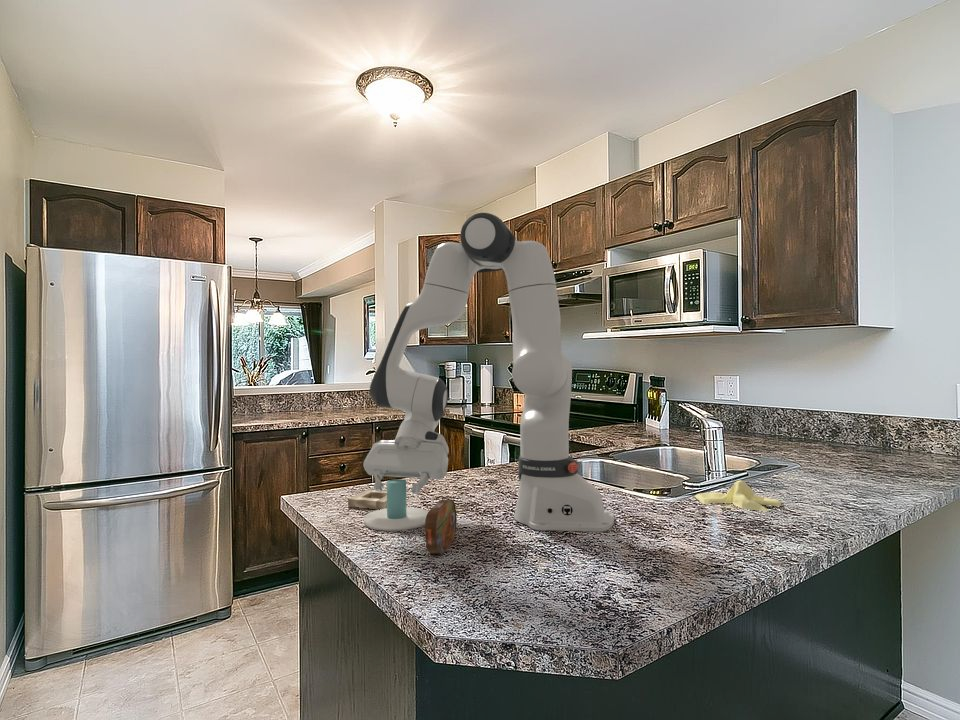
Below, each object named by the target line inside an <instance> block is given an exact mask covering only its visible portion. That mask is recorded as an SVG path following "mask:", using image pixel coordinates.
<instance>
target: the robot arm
mask: <svg viewBox="0 0 960 720" xmlns="http://www.w3.org/2000/svg"><path fill="white" fill-rule="evenodd" d="M461 226H462V227H461V230H460V235H459V236H460V237H459V238H460V242H454V241H448V242H443V243H441V244H439V245H438V246H437V247H436V248H435V250H434V251H433V254H432V257H431V259H430V261H429V265H428V267H427V270H426V274H425V277H424V282H423V286H422V288H421V289H422V290H421V292H420V293H419V295H418V297H417V298H416V299H415V300H414V301H413V302H409V303H407V304H406V305H405V307H404V308H403V310H402V311H401V313H400V315H399V317H398V319H397V321H396V324H395V327H394V329H393V331H392V334H391V335H390V339H389V341H388V343H387V346H386V348H385V351H384V353H383V356H382V359H381V360H380V363H379V365H378V367H377V370H376V371H375V373H374V375H373V377H372V379H371V381H370V385H369V396H370V398H371V399H372V401H373V402H374V403H375V404H376V405H377V406H378V407H379V408H386V409H395V410H400V411H404V412H405V413H404V419H403V420H402V422H401V423H400V425H399V428H398V430H397V434H396V436H395V437H394V438H395V439H393V440H392V439H391V440H389V439H388V440H385V439H381V440H379V441H376V442H375V443H373V444H372V446H371V448H370V450H369V452H368V453H367V455H366V457H365V459H364V460H363V468H364V471H365V472H366V473H367V475H369V476H373V477H374V481H375V482H374V484H373V490H375V491H383V488H384V486H385V485H384V484H383V482H382V481H381V480H383V479H384V477H393V478H395V477H396V478H397V477H398V478H409V479H410V478H411V479H412V478H413V479H414V478H415V479H419V480H418V481H417V482H415V483H412V485H411V486H412V487H411V489H410V490H411V491H410V492H412V494H414V495H420V493H421V490H422V488H423V487H425V485H427V484H428V482H429V481H430V480H442V479H443V478H445V477H446V474H447V471H448V468H449V467H448V465H449V457H448V455H449V452H450V450H449V449H450V448H449V446H448V443H447V441H446V439H445V437H444V435H443V434H441V433H439V432H437V431H435V430H436V428H437V426H439V423H440V420H441V418H442V417H444V414H445V411H446V407H447V404H448V400H449V389H448V388H447V385H446V384H445V382H444V381H443V379H442V378H439V377H437V376H433V375H429V374H426V373H419V372H416V371H415V372H414V371H411V370H406V369H402V368H401V367H400V363H401V361H402V358H403V355H405V351H406V350H407V346H408V344H409V342H410V340H411V337H412V336H413V335H414V334H415V333H416V332H418V331H421V330H424V329H428V328H436V327H442V326H446V325H450V324H452V323H454V322H456V321H457V320H459V319H460V318H461V317H462V316H463V314H464V312H465V309H466V306H467V302H468V300H469V299H468V298H469V295H470V290H471V285H472V281H473V279H474V277H475V274H476V273H477V272H478V273H489V272H498V271H499V272H500V271H502V270H503V272H504V275H505V278H506V283H507V292H508V297H509V305H510V306H509V307H510V313H511V321H512V364H513V365H512V370H511V375H512V380H513V383H514V385H515V387H516V388H517V389H518V390H519V391H520V393H522V394H524V400H523V408H522V414H521V418H520V421H519V422H520V423H519V425H520V426H519V428H520V429H519V431H520V432H519V433H520V437H519V439H520V440H519V441H520V443H519V444H520V448H519V449H520V455H519V456H518V462H517V469H518V471H517V475H518V481H519V488H518V496H517V502H516V508H515V511H514V515H513V518H514V520H515V521H516V522H519V523H521V524H523V525H526V526H528V527H529V528H530V529H532V530H537V531H565V532H566V531H567V532H597V533H598V532H599V533H601V532H605V531H607V530H610V529H611V528H612V527H613V526H614V523H615V518H614V517H615V516H614V514H613V512H611V511H609V510H607V509H605V506H604V500H603V497H602V494H601V492H600V491H599V489H597V488H596V487H595V486H594V485H592V484H591V483H590V482H588V481H587V480H586V479H585V478H584V477H582V475H580V474H579V473H578V472H579V463H578V459H574V458H573V457H571V456H570V453H569V452H570V450H569V449H570V446H569V445H570V443H569V442H570V439H569V438H570V437H569V430H570V429H569V427H570V423H569V422H570V420H569V419H570V411H571V398H572V397H571V396H572V383H573V382H572V378H573V367H572V363H571V362H570V359H569V358H568V357H567V355H566V354H565V353H563V352H562V340H561V339H562V338H561V323H562V318H561V310H560V305H559V304H560V303H559V296H558V291H557V289H558V288H557V283H556V278H555V272H554V268H553V264H552V261H551V258H550V255H549V252H548V249H547V247H545V245H544V244H543V243H541V242H538V241H536V240H522V241H518V240H517V239H516V237H515V235H514V233H512V230H511V229H510V227H509V226H507V224H506V223H505V222H504V221H503V220H502V219H501V218H500V217H498V216H497V215H495V214H493V213H489V212H477V213H475V214H473V215H471V216H470V217H468V218H467V219H466V220H465V222H464V223H463V225H461Z"/></svg>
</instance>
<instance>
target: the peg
mask: <svg viewBox="0 0 960 720" xmlns="http://www.w3.org/2000/svg"><path fill="white" fill-rule="evenodd" d="M386 491H387V518H390V519H401V518H405V517H406V516H407V513H406V507H407V480H406V479H403V478H394V479H388V480H386Z"/></svg>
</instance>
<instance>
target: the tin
mask: <svg viewBox="0 0 960 720" xmlns="http://www.w3.org/2000/svg"><path fill="white" fill-rule="evenodd" d="M457 516H458V515H457V508H456V504H455V501H454V500H453V498H450V499H440V500H439V501H437V502H436V503H435V504H434V505H433V506H432V507H431V508H430V509H429V510H428V513H427V516H426V520H425V525H424V532H425V533H424V534H425V547H426V550H427V552H428V554H433V555H444V554H445V553H446V552H447V550H448V549H449V548H450V546H451V545H452V543H453V542H454V540H455V538H456V534H457V523H458V522H457V521H458V520H457Z"/></svg>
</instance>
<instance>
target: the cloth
mask: <svg viewBox="0 0 960 720" xmlns="http://www.w3.org/2000/svg"><path fill="white" fill-rule="evenodd" d="M726 493H727V494H725V493H721V492H703V493H702V492H701V493H697V494H696V495H694V498H696V499H697V501H699V503H700V504H702V503H703V504H702V505H704V504H710V503H733V504H734V505H736V506H738V507H740V508H744V509H751V510H759V511H770V510H769V509H768V508H767V507H766V506H762V505H771V506H781V507H782V504H781V503H782V502H781V500H779V499H776V498H771V497H763V496H759V495H756V494H755V491H754V490H753V489H752V488H751V487H750V486H749V485H748V484H747V483H746V482H745V481H744V480H737V481H735V482H734V484H733V485H732V487H730V488H729V490H728V491H727V492H726ZM724 507H727V508H732V509H735V508H736V507H734V506H732V505H724V506H723V508H724ZM727 508H726V509H727Z"/></svg>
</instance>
